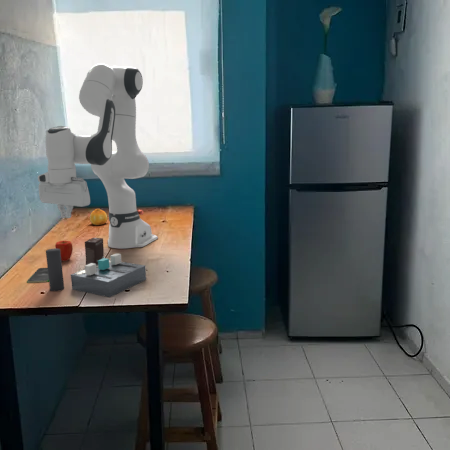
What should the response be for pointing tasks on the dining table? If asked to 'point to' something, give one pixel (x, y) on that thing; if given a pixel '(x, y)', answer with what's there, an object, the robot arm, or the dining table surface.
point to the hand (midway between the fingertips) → (66, 217)
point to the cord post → (55, 269)
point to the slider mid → (103, 264)
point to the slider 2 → (115, 259)
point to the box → (94, 250)
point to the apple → (64, 249)
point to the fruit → (98, 217)
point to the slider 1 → (90, 269)
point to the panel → (109, 279)
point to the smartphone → (39, 276)
